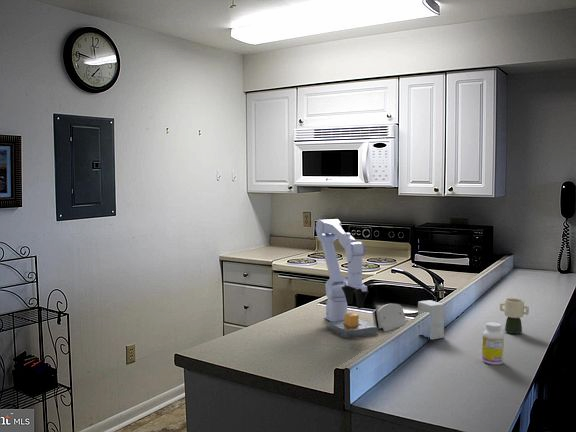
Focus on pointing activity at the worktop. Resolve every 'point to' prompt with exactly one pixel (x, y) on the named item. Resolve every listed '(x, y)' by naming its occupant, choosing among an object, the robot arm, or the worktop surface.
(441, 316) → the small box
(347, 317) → the block
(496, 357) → the supplement bottle
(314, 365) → the worktop surface
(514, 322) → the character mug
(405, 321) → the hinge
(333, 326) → the grey square-hole board
